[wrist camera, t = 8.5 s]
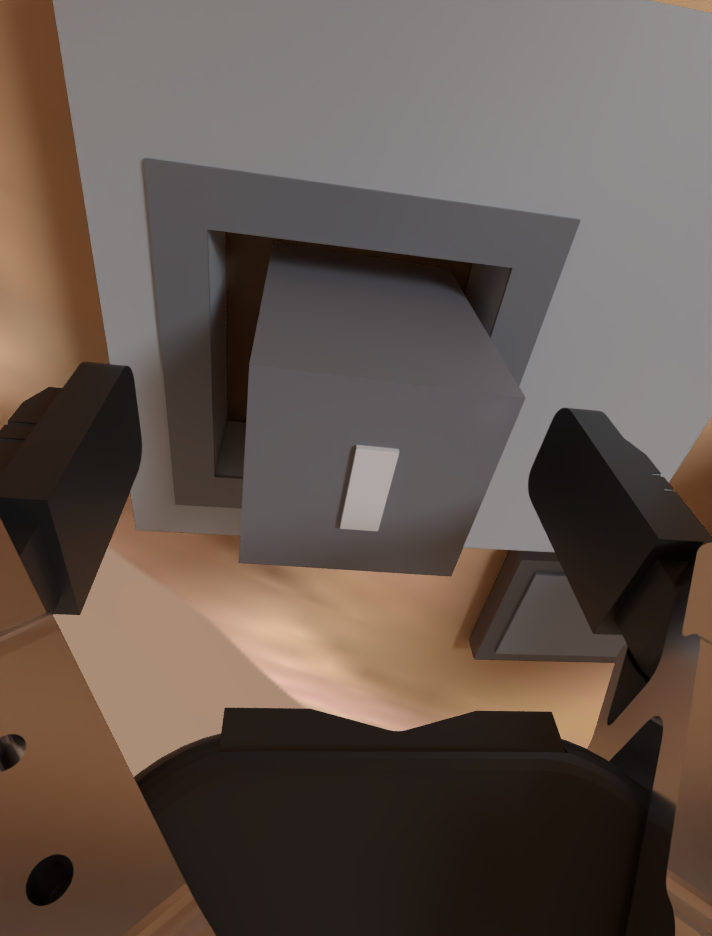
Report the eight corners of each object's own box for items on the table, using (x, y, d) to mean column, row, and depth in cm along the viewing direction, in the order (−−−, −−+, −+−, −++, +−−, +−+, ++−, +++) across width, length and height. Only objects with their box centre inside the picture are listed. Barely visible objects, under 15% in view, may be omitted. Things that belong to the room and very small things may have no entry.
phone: (468, 640, 23) (474, 661, 22) (514, 541, 19) (522, 562, 18) (724, 647, 24) (738, 667, 23) (811, 557, 21) (831, 577, 20)
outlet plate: (92, -90, 9) (29, -127, 7) (831, 56, 11) (947, 59, 9) (156, 473, 16) (134, 532, 14) (589, 502, 18) (623, 558, 16)
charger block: (273, 241, 12) (248, 367, 8) (448, 268, 13) (527, 401, 8) (261, 398, 15) (238, 566, 10) (409, 414, 16) (452, 580, 11)
